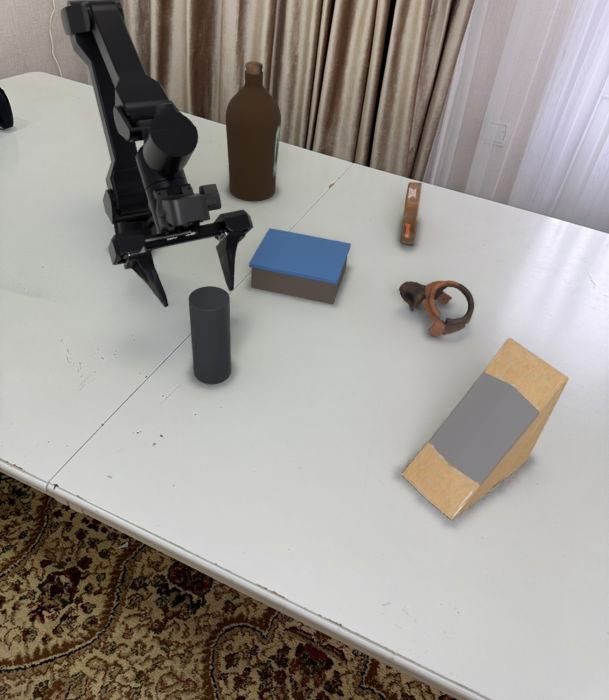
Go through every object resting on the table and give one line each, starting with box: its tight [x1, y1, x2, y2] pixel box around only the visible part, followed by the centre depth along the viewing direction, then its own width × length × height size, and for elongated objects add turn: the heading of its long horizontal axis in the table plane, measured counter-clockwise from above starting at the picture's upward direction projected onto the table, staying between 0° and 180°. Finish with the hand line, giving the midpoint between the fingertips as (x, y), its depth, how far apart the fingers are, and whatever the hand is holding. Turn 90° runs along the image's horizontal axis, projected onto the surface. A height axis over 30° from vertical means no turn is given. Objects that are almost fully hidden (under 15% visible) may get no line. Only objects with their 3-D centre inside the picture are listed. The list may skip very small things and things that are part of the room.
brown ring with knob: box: [398, 280, 475, 338], centre depth 98 cm, size 12×10×8 cm
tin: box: [400, 181, 423, 246], centre depth 118 cm, size 15×3×8 cm, turn 168°
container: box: [248, 227, 352, 305], centre depth 105 cm, size 15×12×5 cm
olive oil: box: [224, 60, 282, 202], centre depth 120 cm, size 11×11×25 cm
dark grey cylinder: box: [188, 285, 232, 385], centre depth 84 cm, size 5×5×13 cm
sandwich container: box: [401, 337, 569, 521], centre depth 73 cm, size 9×15×15 cm, turn 129°
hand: (199, 298), depth 83 cm, fingers open, 9 cm apart
